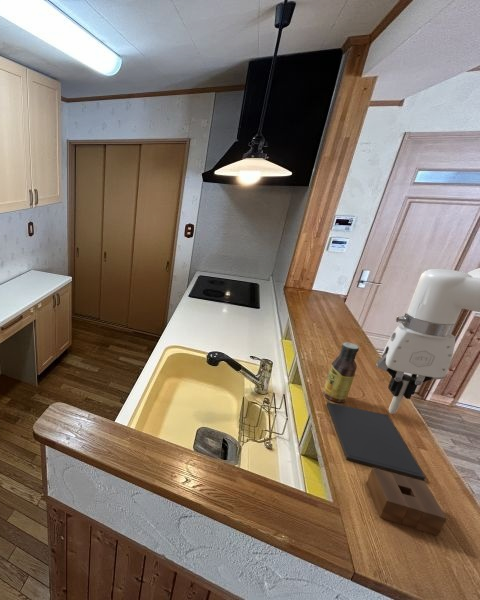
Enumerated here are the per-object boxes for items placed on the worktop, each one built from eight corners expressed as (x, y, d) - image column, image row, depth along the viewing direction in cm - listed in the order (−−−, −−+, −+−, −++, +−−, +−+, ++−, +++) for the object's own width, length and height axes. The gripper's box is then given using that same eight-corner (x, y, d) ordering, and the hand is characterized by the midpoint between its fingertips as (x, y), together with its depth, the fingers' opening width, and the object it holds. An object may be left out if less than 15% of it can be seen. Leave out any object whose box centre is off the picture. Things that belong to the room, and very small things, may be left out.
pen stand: (417, 497, 73) (425, 481, 71) (438, 536, 65) (447, 518, 63) (365, 483, 77) (372, 467, 75) (379, 517, 69) (386, 500, 67)
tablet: (386, 417, 97) (387, 414, 97) (424, 480, 77) (425, 477, 76) (326, 404, 103) (327, 401, 103) (346, 459, 83) (347, 456, 83)
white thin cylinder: (394, 412, 80) (409, 374, 76) (396, 416, 79) (412, 378, 75) (386, 410, 81) (401, 373, 77) (388, 414, 79) (403, 376, 75)
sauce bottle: (321, 389, 110) (336, 337, 103) (344, 395, 107) (361, 342, 100) (323, 400, 105) (339, 346, 98) (347, 406, 102) (365, 351, 95)
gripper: (388, 325, 71) (363, 394, 78) (488, 339, 65) (452, 413, 71) (376, 313, 77) (354, 378, 84) (466, 324, 71) (435, 394, 78)
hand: (399, 393), depth 78 cm, fingers closed on white thin cylinder, 1 cm apart
